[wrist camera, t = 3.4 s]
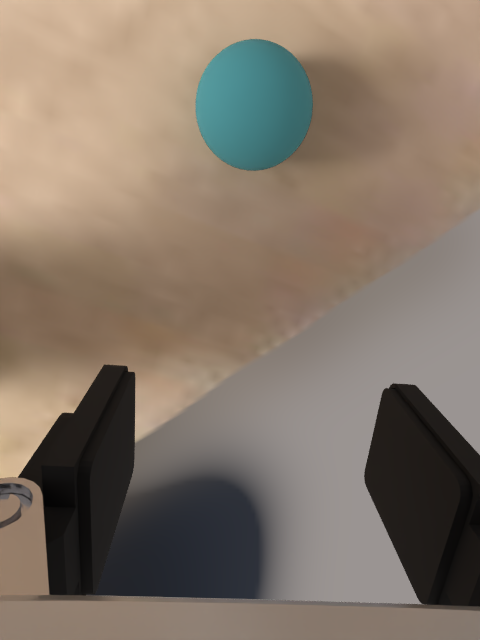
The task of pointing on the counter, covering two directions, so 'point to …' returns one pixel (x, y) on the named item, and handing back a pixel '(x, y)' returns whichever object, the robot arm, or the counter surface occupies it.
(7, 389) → the counter surface
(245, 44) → the ball
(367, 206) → the counter surface
